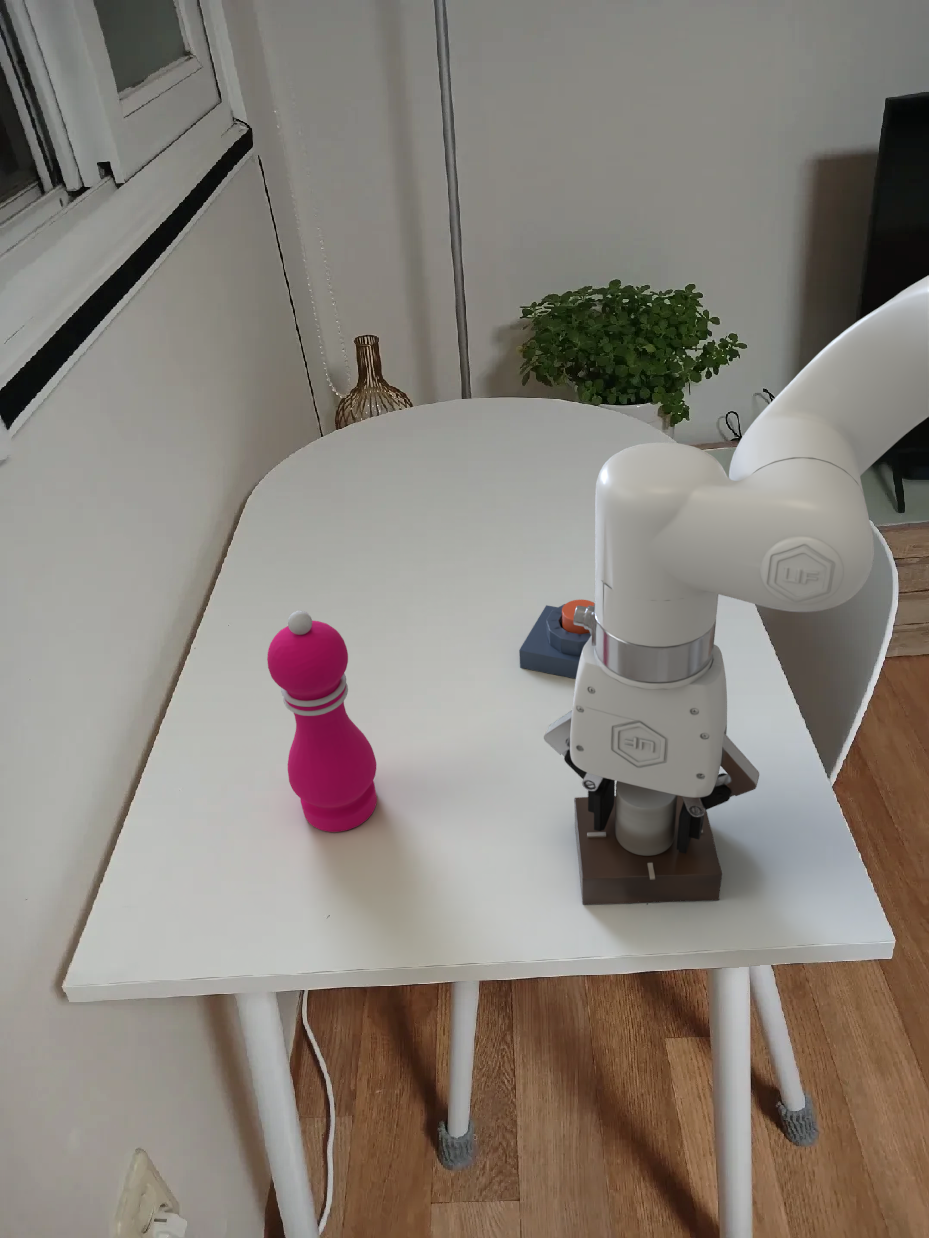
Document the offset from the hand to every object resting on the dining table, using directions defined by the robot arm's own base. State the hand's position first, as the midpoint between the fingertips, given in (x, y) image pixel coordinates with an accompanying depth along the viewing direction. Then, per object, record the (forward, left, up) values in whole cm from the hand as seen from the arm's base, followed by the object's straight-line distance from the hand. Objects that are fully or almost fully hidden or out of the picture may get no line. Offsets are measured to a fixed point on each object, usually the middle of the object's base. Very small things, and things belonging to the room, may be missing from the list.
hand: (644, 826), depth 71 cm
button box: (+12, -23, -4) cm, 27 cm away
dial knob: (0, 0, -1) cm, 1 cm away
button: (+12, -23, 0) cm, 26 cm away
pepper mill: (+25, +3, -4) cm, 26 cm away
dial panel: (0, 0, -4) cm, 4 cm away
